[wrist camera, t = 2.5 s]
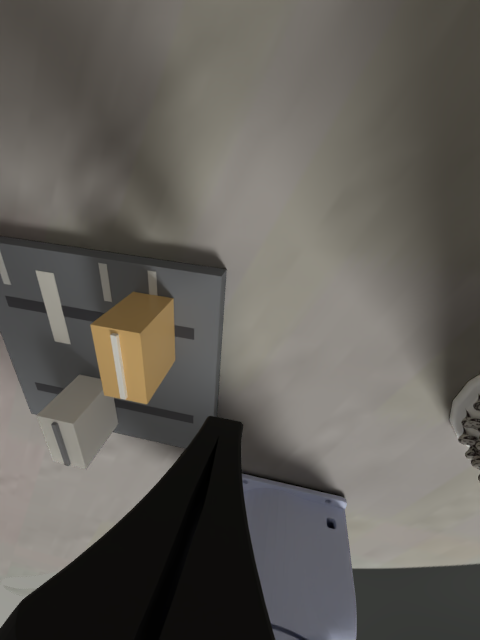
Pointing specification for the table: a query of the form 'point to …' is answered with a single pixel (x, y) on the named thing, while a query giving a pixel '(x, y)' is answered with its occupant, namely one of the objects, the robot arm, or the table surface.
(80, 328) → the mixing board
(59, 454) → the cream fader knob
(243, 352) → the table surface
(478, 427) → the decorative candle
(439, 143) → the table surface
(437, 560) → the table surface
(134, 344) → the amber fader knob
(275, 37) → the table surface
